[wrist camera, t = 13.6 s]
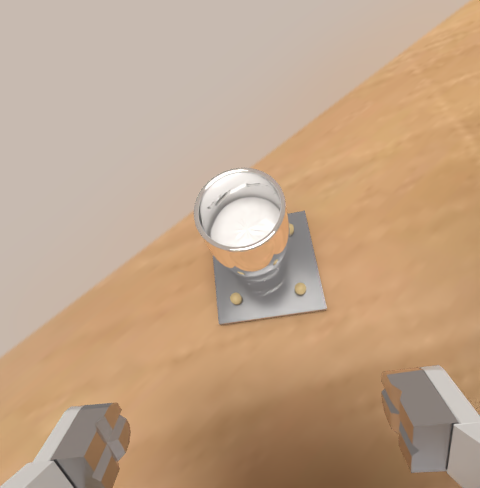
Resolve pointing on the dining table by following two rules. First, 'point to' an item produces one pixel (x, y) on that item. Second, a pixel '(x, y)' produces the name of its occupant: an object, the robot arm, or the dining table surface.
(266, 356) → the dining table surface
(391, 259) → the dining table surface
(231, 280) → the coaster
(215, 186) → the beer glass
